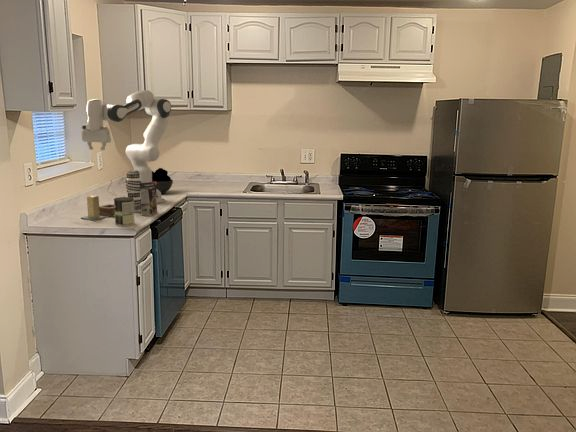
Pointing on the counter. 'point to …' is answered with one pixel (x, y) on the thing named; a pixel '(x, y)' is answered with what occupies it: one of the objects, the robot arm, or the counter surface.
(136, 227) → the counter surface
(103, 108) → the robot arm
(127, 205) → the coffee can
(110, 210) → the socket block
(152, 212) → the coffee box
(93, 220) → the rubber mat
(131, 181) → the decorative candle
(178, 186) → the counter surface
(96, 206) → the wooden square peg
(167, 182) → the coal bowl
